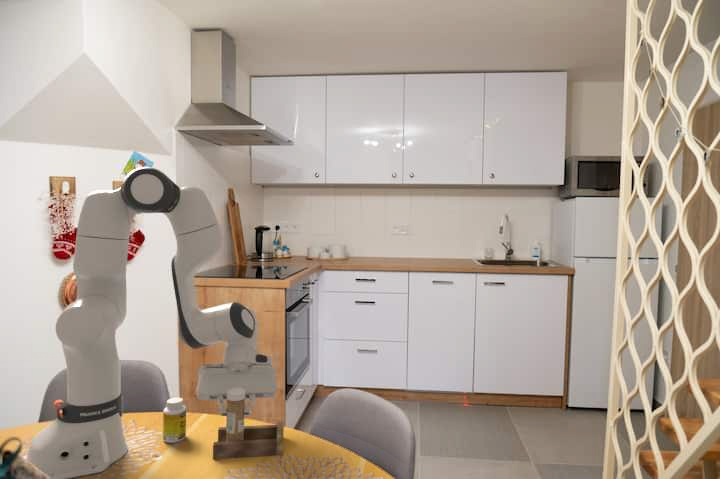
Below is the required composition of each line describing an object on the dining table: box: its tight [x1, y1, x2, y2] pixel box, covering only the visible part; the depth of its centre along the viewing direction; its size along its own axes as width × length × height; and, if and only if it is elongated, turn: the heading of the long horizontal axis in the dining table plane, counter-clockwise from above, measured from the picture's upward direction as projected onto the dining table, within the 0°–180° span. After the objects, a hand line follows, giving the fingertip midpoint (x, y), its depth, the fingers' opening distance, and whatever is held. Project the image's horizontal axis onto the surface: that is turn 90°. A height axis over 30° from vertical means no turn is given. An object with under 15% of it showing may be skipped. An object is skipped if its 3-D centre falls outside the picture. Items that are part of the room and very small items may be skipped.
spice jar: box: [225, 388, 246, 441], centre depth 115 cm, size 5×5×14 cm
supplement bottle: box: [162, 397, 187, 444], centre depth 119 cm, size 6×6×10 cm
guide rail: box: [212, 420, 285, 460], centre depth 115 cm, size 17×10×4 cm, turn 99°
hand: (235, 414), depth 114 cm, fingers closed on spice jar, 4 cm apart
